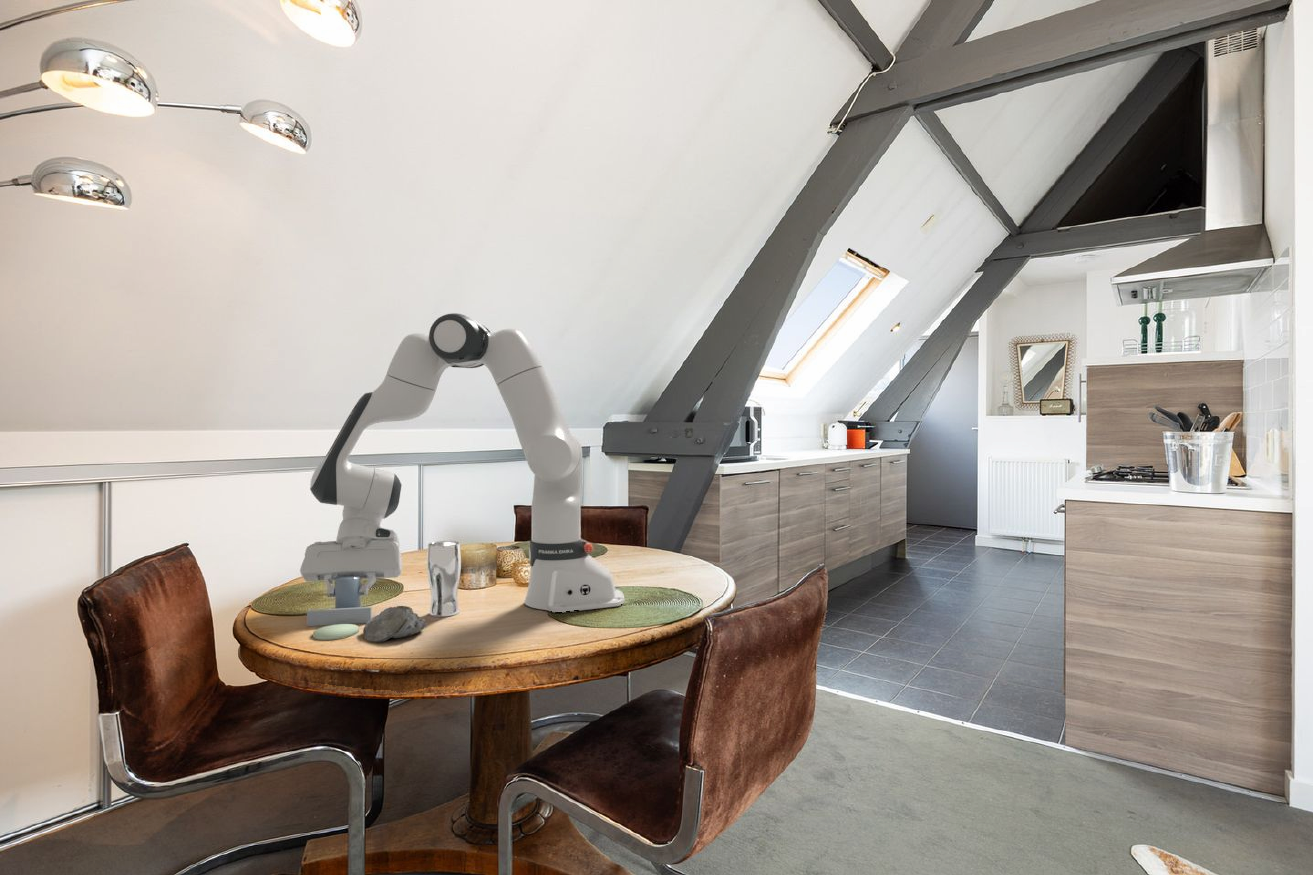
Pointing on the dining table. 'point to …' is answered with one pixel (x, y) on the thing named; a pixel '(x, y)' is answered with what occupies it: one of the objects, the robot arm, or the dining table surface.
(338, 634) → the coaster
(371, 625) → the fossilized seashell
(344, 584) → the blue-grey cylinder
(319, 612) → the wall
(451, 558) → the beer glass
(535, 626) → the dining table surface
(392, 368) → the robot arm
